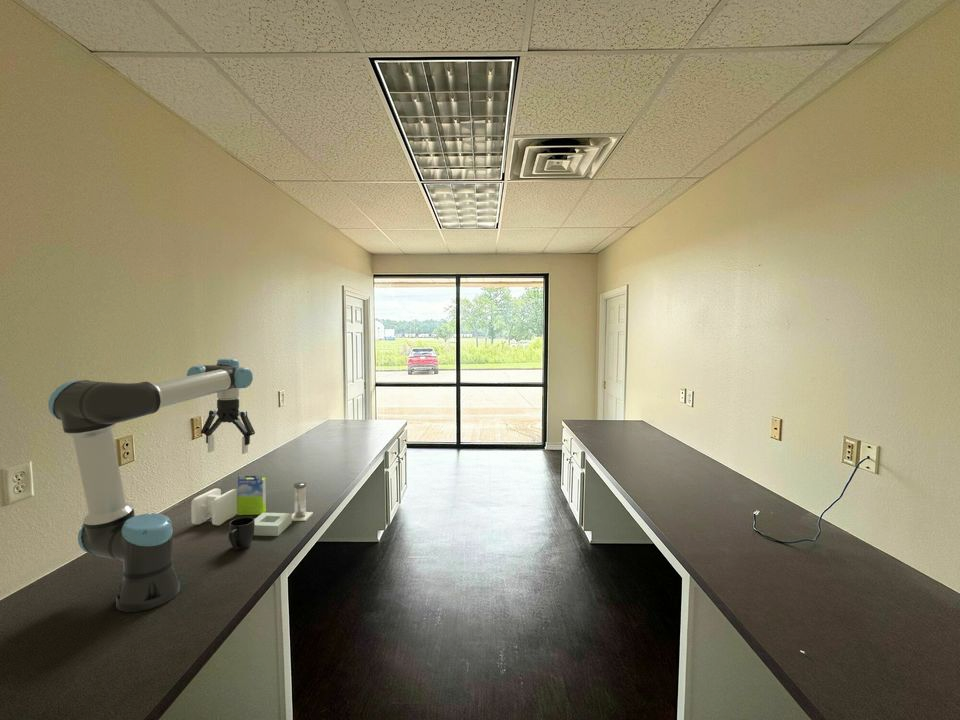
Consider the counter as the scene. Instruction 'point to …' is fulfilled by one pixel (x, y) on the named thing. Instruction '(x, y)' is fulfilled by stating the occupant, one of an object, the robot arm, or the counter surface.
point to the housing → (272, 523)
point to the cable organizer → (214, 506)
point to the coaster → (302, 517)
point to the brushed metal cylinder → (300, 499)
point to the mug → (241, 532)
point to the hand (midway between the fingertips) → (227, 452)
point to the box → (251, 495)
